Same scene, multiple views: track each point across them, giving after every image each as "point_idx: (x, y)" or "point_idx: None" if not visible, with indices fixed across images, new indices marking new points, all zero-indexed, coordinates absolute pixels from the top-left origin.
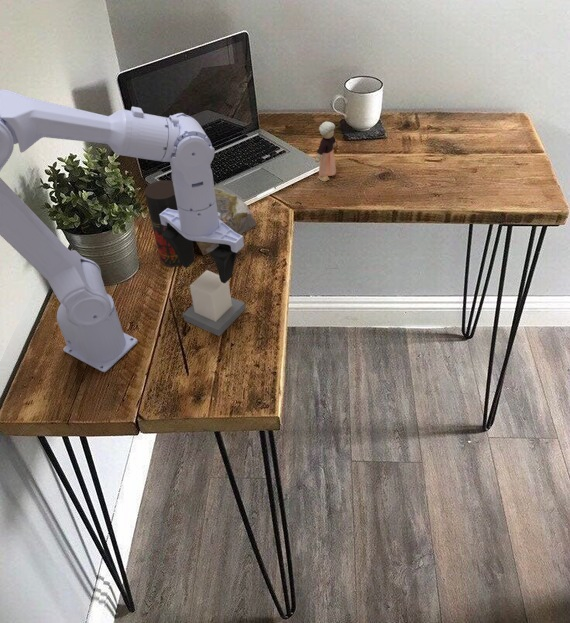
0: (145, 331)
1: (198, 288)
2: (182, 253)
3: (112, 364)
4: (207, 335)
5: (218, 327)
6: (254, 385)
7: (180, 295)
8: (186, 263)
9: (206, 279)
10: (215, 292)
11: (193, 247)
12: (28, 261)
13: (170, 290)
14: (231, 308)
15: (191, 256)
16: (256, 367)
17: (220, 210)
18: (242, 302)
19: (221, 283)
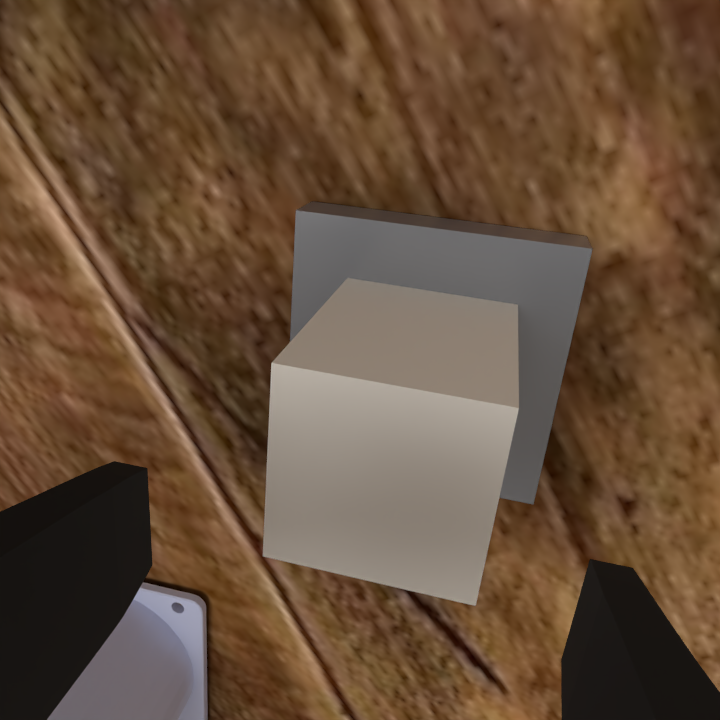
0: (189, 536)
1: (340, 565)
2: (29, 715)
3: (205, 715)
4: None
5: (523, 486)
6: None
7: (165, 275)
8: (126, 590)
9: (338, 464)
10: (485, 560)
11: (38, 535)
12: None
13: (95, 260)
14: (526, 328)
15: (104, 539)
16: None
17: None
18: (574, 249)
19: (486, 474)
